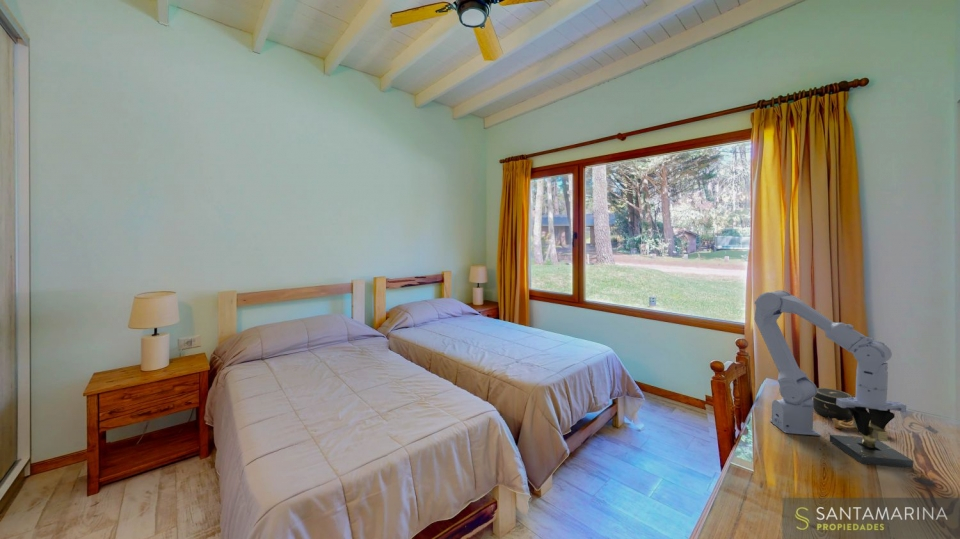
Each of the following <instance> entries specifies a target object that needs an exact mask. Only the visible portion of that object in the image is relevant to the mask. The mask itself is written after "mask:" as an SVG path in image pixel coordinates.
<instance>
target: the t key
mask: <svg viewBox="0 0 960 539" xmlns="http://www.w3.org/2000/svg"><path fill="white" fill-rule="evenodd" d="M852 421H853V426H854V427H855V429H858V428H857V425H856V422H855V420H854V417H852ZM888 433H889V432H888V431H886V430H883V429H881V428H879V427H877V426H876V425H874V424H872V423H869V430H868V435H863V434H862V437H863V438H862V444H863V445H865V446H867V447H871V448H875V442H876V440H878V441H881V442H888Z"/></svg>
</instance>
